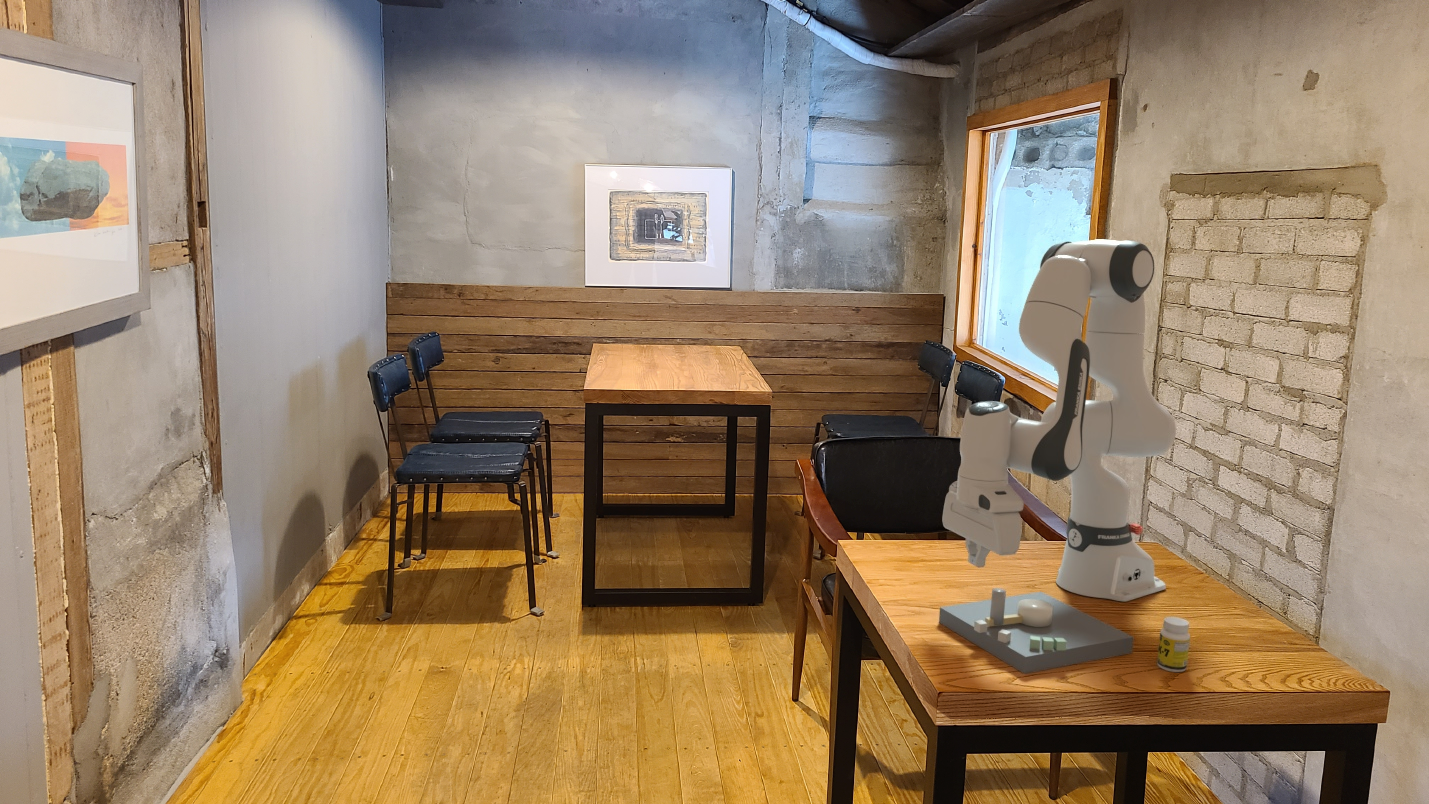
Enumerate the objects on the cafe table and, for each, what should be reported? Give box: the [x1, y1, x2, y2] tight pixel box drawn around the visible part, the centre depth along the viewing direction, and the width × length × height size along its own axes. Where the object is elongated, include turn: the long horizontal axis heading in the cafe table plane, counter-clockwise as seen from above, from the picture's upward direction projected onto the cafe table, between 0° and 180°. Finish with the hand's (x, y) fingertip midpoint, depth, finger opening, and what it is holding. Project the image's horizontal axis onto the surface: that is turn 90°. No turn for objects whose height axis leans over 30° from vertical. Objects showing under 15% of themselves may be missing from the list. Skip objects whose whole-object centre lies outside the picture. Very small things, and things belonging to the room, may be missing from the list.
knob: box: [985, 587, 1053, 627], centre depth 197 cm, size 13×6×6 cm, turn 109°
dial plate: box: [938, 591, 1134, 675], centre depth 199 cm, size 25×24×5 cm
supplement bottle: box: [1156, 616, 1191, 673], centre depth 187 cm, size 5×5×8 cm
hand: (976, 565), depth 201 cm, fingers closed
